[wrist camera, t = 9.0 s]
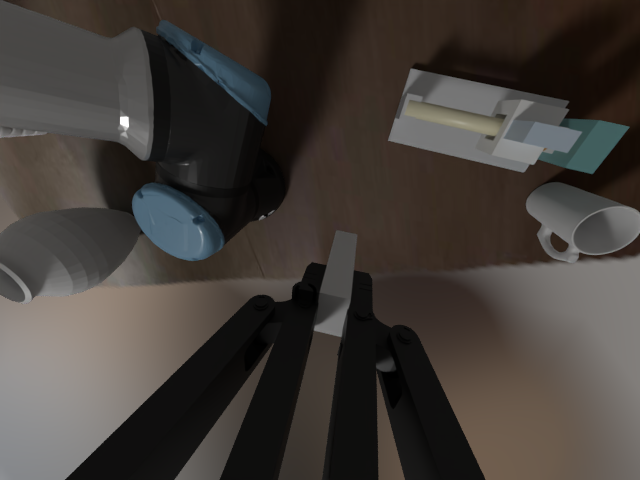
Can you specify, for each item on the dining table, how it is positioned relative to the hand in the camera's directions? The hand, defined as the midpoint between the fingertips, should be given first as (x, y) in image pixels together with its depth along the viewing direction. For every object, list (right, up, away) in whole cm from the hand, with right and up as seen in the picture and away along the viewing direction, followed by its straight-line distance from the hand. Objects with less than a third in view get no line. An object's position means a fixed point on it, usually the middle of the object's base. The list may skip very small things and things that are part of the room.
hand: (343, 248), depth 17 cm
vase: (-53, +5, +46) cm, 70 cm away
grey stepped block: (+24, +16, +15) cm, 32 cm away
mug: (+36, +6, +24) cm, 44 cm away
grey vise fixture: (+21, +19, +20) cm, 35 cm away
